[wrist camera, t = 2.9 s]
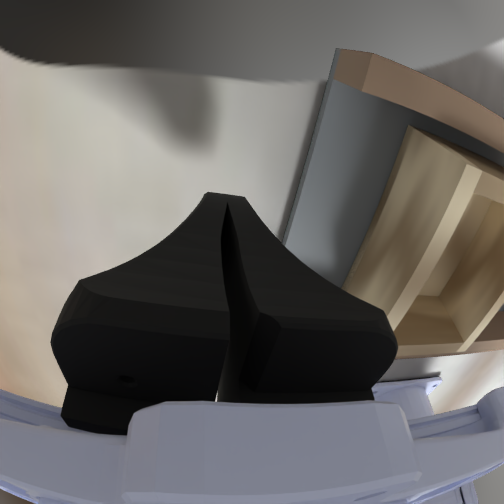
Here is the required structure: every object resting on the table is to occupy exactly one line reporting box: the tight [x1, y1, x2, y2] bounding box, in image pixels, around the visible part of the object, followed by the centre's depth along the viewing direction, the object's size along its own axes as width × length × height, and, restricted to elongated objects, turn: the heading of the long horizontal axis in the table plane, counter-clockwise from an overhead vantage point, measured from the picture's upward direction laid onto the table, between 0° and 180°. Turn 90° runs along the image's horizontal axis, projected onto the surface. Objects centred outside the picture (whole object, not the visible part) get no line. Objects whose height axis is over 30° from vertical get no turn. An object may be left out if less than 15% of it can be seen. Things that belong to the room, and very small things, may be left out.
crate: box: [341, 125, 504, 356], centre depth 13 cm, size 9×7×4 cm
